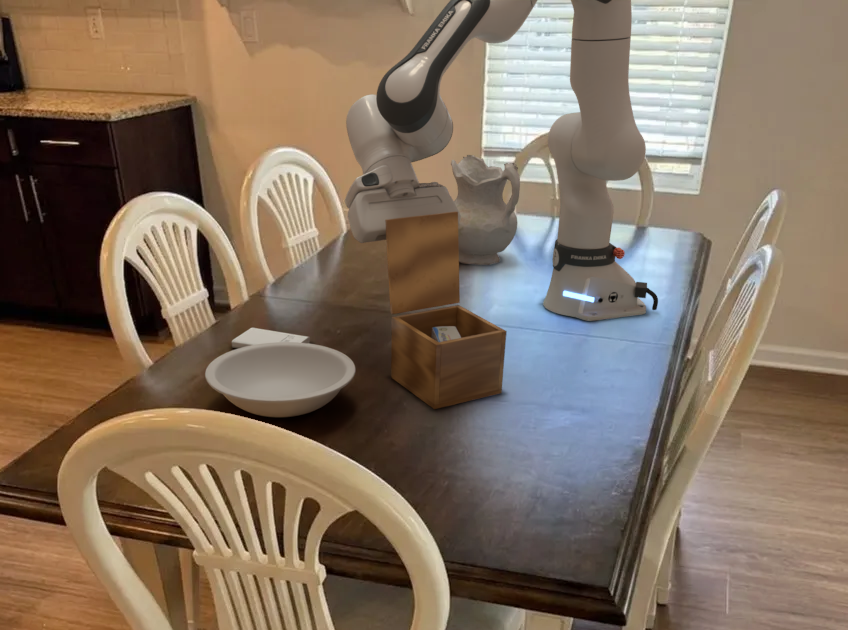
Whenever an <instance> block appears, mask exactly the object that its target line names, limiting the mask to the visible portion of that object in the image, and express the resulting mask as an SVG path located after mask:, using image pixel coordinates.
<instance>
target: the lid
mask: <svg viewBox="0 0 848 630" xmlns="http://www.w3.org/2000/svg"><path fill="white" fill-rule="evenodd" d="M385 224H386V240H385V241H386V256H387V257H386V258H387V259H386V260H387V275H388V295H389V313H390V314H391V315H396V314H397V315H398V314H403V313H408V312H409V313H410V312H413V311H420V310H425V309H426V310H427V309H431V308H437V307H442V306H443V307H444V306H447V305H454V304H459V303H461V301H460V300H461V299H460V297H461V296H460V295H461V294H460V262H459V242H458V212H456V211H455V212H446V213H438V214H429V215H420V216H412V217H403V218H394V219H386V220H385Z"/></svg>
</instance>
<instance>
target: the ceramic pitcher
mask: <svg viewBox="0 0 848 630" xmlns="http://www.w3.org/2000/svg"><path fill="white" fill-rule="evenodd" d="M450 165H451V170H452V175H453V177H454V179H455V182H456V187H457V196H456V198H455V200H453V201H454V203H455V204H456V206H457V208H458V210H459V213H460V215H461V220H460V222H459V224H458V242H459V263H461V264H463V265H478V266H490V265H493V264H494V265H495V264H498V263H500V261H501V257H500V256H499V253H502V252H503V251H505V250H506V249H507V248H508V247H509V245H510V244H511V243H512V241H513V240H514V238H515V236H516V233H517V230H518V218H517V214H516V213H515V210H516V206H517V204H518V202H519V200H520V190H521V179H520V174H519V170H518V169H519V167H518V166H517V164H515V163H513V162H506V163H503V165H504V169H503V168H502V167H499V166H493V165H492V166H491V165H490V166H488V165H487V163H486V162H485V160H484V158H483V157H482V158H480V157H478V156H476V155H474V154H466V156H462V159H461V160H460V161H459V162H458V163H457V161H456V160H455V159H451V162H450ZM507 181H509V182H510V184H511V195H510V198H509V199H508V202H507V203H506V202H505V201H504V197H503V196H504V189H505V186H506V183H507Z"/></svg>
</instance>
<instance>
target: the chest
mask: <svg viewBox="0 0 848 630" xmlns="http://www.w3.org/2000/svg"><path fill="white" fill-rule="evenodd" d="M440 326H455V327H456V328H457V330H458V332H459V334H460V336H461V338H458V339H453V340H448V341H443V342H437V341H435V340H434V339H432V338H431V335H432V328H433V327H440ZM390 333H391V338H390V340H391V348H390V349H391V350H390V354H391V355H390V359H391V360H390V368H391V369H390V372H391V373H390V374H391V375H390V377H391V379H392V380H394V381H395V382H397V383H398V384H399V385H400V386H402V387H403V388H405V389H406V390H408V391H409V392H410V393H412V394H413V396H415V397H417V398H418V399H419V400H421V401H422V402H424V403H425V404H426V405H428V406H429V407H430V408H432V409H433V410H437V409H441V408H445V407H450V406H455V405H457V404H462V403H466V402H469V401H475V400H479V399H483V398H487V397H492V396H496V395H500V394H502V392H503V380H504V379H503V378H504V369H505V368H504V367H505V357H506V356H505V355H506V342H507V330H505V329H503V328H502V327H500V326H498V325H496V324H494V323H493V322H491V321H489V320H487V319H486V318H483V317H482V316H480V315H478V314H476V313H474V312H472V311H470V310H469V309H467V308H465V307H463V306H461V304H456V305H450V306H443V307H438V308H433V309H428V310H427V309H426V310H421V311H416V312H412V313H410V312H409V313H405V314H399V315H398V314H397V315H393V316H391V332H390Z"/></svg>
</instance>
